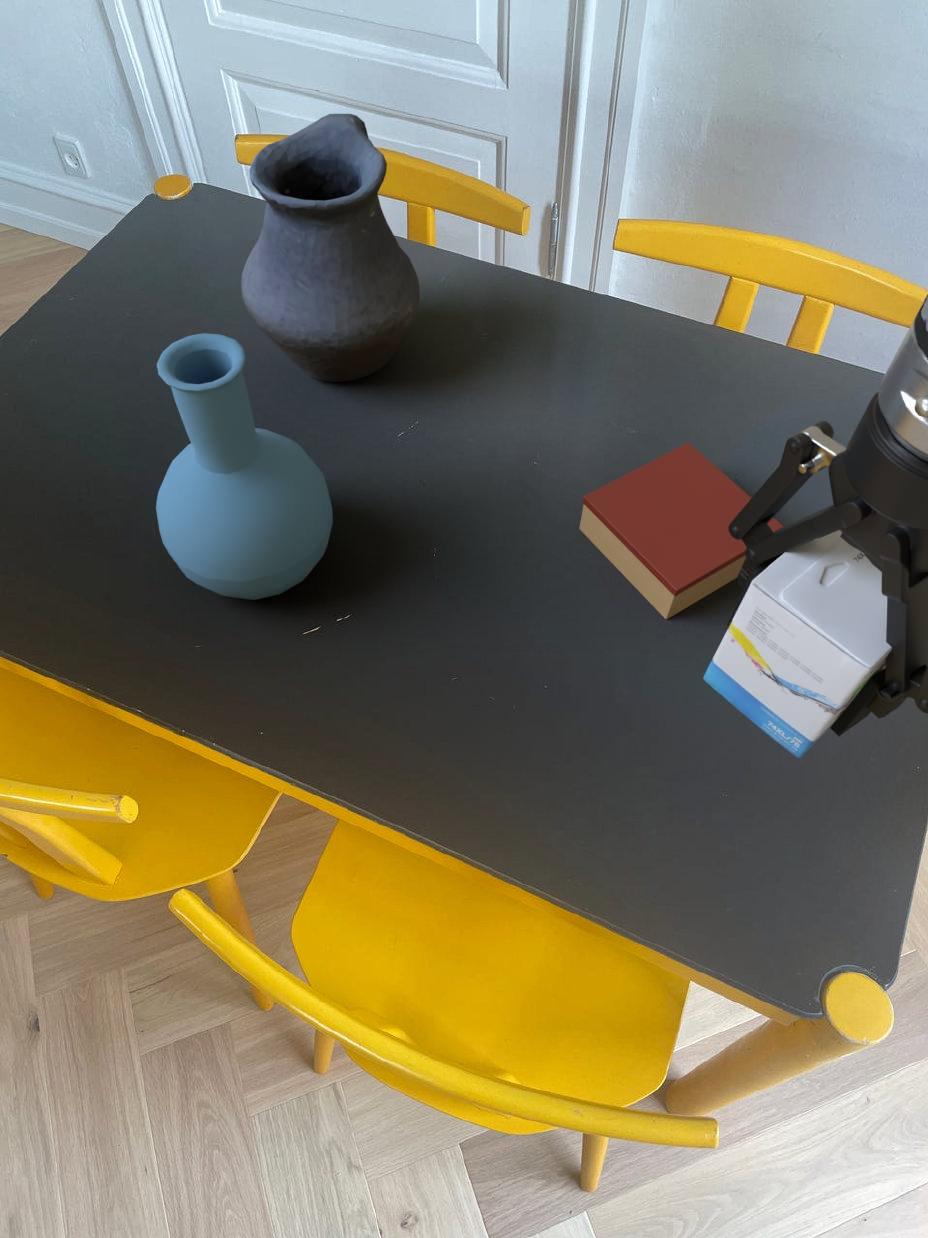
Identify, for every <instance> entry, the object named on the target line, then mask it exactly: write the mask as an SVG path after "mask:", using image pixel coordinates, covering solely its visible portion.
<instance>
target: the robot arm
mask: <svg viewBox="0 0 928 1238" xmlns="http://www.w3.org/2000/svg"><path fill="white" fill-rule="evenodd" d="M834 433H835V432H834V427H832V424H830V423H829V422H828V421H827V420H820V421H818V422H817V423H815V424H813V425H811V426H809V427H807V428H804V429H803V430H802V431H800V432H798V433H796V434H794V435H793V436H791V437H789V438H787V440H786V441H785V445H784V449H783V452H782V455H781V459H780V463H779V465H778V467H776V469H775V470H774V471H773V473H772V474H771V475H770V476H769V477H768V478H767V480H766V481H765V482H764V483H763V484H762V486H760V488H759V489H758V490H757V491H756V492H755V494H754V495H753V496H752V497H751V500H750V501H749V502H748V503H747V504H746V505H745V507H744V508H743V509H742V510H741V511H740V512H739V514H738V515H737V516H736V517H735V518H734V520H733V521H732V522H731V523H730V524H729V533H730V534H731V536H732V537H733V538H735V539H736V540H740V539H742V541H743V542H744V544H745V545H746V548H747V549H746V551H745V554H746V559H745V561H744V563H743V565H742V568H741V570H740V572H739V574H738V576H737V578H736V584H737V585H738V586H739V587H740V588H741V589H742V590H743V591H742V593H741V594H740V597H739V599H738V600H737V603H736V605H735V607H734V610H733V612H732V614H731V615H730V617H729V619H728V621H727V624H726V626H727V627H729V626H730V624H731V622H732V620H733V618H734V616H735V614H736V612H737V610H738V608H739V606H740V604H741V602H742V600H743V598H744V596H745V594H746V592H747V590H748V588H749V586H750V584H751V582H752V581H753V580H754V579H755V578H756V577H757V576H758V575H759V574H761V573H762V572H763V571H764V570H765V569H766V568H767V567H768V566H770V565H771V564H772V563H773V562H774V561H775V560H777V559H778V558H779V557H780V556H781V555H783V554H784V553H785V552H786V551H789V550H791V549H793V548H796V547H798V546H800V545H803V544H805V543H807V542H810V541H812V540H814V539H817V538H818V539H819V538H822V537H824V536H826V535H829V534H831V533H833V532H836V531H838V530H840V531H841V532H842V534H841V536H840V537H841V538H842V539H843V540H845V541H846V542H847V543H848V544H849V545H850V546H852V547H854V548H856V549H858V550H859V551H861V552H863V553H864V555H865V556H866V557H867V558H868V559H869V561H870V562H871V563H872V564H873V565H874V566H875V567H876V568H877V569H878V570H880V571H881V572H882V588H881V591H882V594H883V595H884V596H887V629H886V642H887V643H888V644H889V645H890V646H891V648H892V650H891V651H890V653H889V654H888V655H887V657H886V665H885V668H884V669H882V670H881V671H880V672H878V673H877V674H875V675H874V676H872V677H871V678H870V679H869V680H868V681H867V683H866V684H865V685H864V686H863V688H862V689H861V690H860V691H859V693H858V694H857V695H856V697H855V698H854V699H853V700H852V701H851V703H850V704H849V705H848V706H847V708H846V709H845V710H844V711H843V713H842V714H841V715H840V716H839V718H838V719H837V720H836V721H835V723H834V724H833V725H832V726H831V728H830V730H831V731H833V732H834V733H835V734H836V735H837V737H841V736H842V735H843V734H844V733H846V732H848V731H849V730H850V729H852V728H853V727H855V726H856V725H857V724H858V723H860V722H861V721H863V720H864V719H866V718H867V717H869V715H870V714H871V713H872V714H874V715H875V717H876V718H877V719H883V718H885V717H887V716H888V715H890V714H891V713H892V712H894V711H895V710H896V709H898V708H899V707H901V705H903V703H904V702H905V701H906V700H907V699H908V698H911V699H913V700H914V703H915V706H916V707H917V709H919V711H921V712H922V713H924V714H927V715H928V294H926V296H925V298H924V301H923V302H922V305H921V306H920V307H919V310H918V311H917V313H916V315H915V317H914V319H913V321H912V322H911V324H910V326H909V328H908V330H907V332H906V334H905V336H904V338H903V339H902V342H901V344H900V346H899V347H898V349H897V351H896V353H895V354H894V357H893V358H892V360H891V362H890V364H889V366H888V368H887V369H886V371H885V373H884V375H883V377H882V379H881V381H880V384H879V387H878V391H877V392H876V393H875V394H874V395H873V396H872V398H871V400H870V402H868V405H867V407H866V408H865V411H864V413H863V415H862V416H861V418H860V420H859V422H858V424H857V426H856V427H855V430H854V431H853V434H852V435H851V437H850V439H849V441H848V442H847V445H846V446H844V445H843V444H841V443H840V442H838V441H837V440H834ZM826 468H828V469H827V470H828V478H829V484H830V490H831V498H832V504H830V505H828V506H826V507H824V508H822V509H820V510H818V511H816V512H814V513H811V514H809V515H807V516H805V517H803V518H801V519H798V520H797V521H794V522H792V523H790V524H788V525H786V526H784V528H783V527H782V528H780V529H778V530H777V531H775V532H773V531H772V530H771V528H770V527H769V525H768V524H767V523H768V522H769V521H770V520H771V519H772V518H774V517H776V515H777V514H778V513H779V512H780V511H781V510H782V508H784V506H786V504H787V503H789V501H790V500H791V499H792V498H793V497H794V496H795V495H796V494H797V492H798V491H800V489H801V488H802V487H803V486H804V485H805V484H806V483H807V482H808V481H809V479H811V478H812V477H813V475H814V474H817V473H818V472H821V471H822V470H824V469H826Z"/></svg>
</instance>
